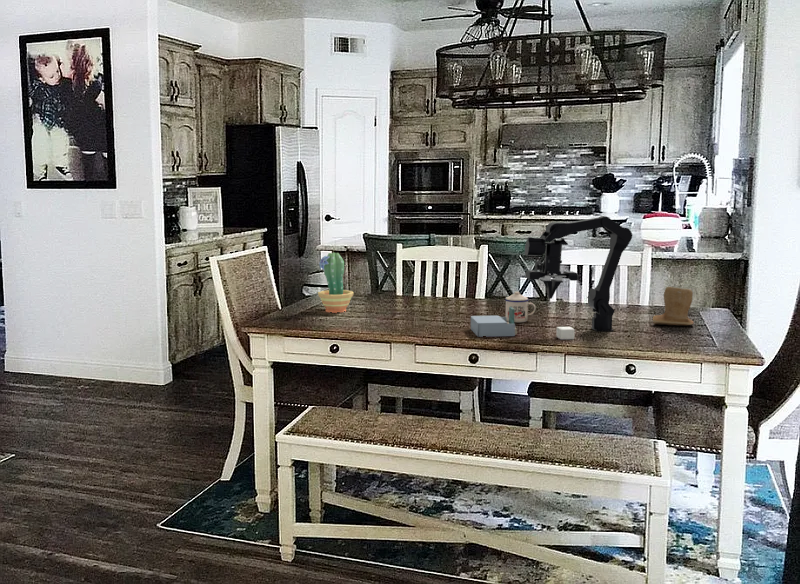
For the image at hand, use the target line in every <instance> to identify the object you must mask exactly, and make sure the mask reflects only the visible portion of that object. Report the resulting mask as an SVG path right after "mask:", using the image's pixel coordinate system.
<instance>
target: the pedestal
mask: <svg viewBox="0 0 800 584" xmlns="http://www.w3.org/2000/svg"><path fill="white" fill-rule="evenodd" d="M555 336H556V338H558V339H559V340H574V339H575V328H573V327H572V326H556V335H555Z"/></svg>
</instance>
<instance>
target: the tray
mask: <svg viewBox="0 0 800 584" xmlns="http://www.w3.org/2000/svg"><path fill="white" fill-rule="evenodd" d="M506 322H507V324H515V322H514V309H513V308H512V307H509V321H506ZM517 331H518V329H517V327H515V335H517V334H518V333H517Z"/></svg>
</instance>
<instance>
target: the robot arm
mask: <svg viewBox="0 0 800 584" xmlns="http://www.w3.org/2000/svg"><path fill="white" fill-rule="evenodd" d="M601 228H602V229H603V230H604V231H605V232H606V233H607V234H609V235H610V239H609V251H608V254H607V257H606V260H605V263H604V265H603V269H602V272H601V274H600V278H599V280H598V282H597V284H596V286H595V287H594V288H593V287H591V288H590V289H589V293H588V296H587V297H586V298H587V299H588V300H587V304H588V305H589V308H591V309H592V312H593V315H592V316H593V317H592V318H591V329H592V330H594V331H595V332H614V329H613V316H614V313H615V309H614V308H613V306H611V305H610V298H611V296H610V295H611V293H610V292H611V291H610V288H611V286H612V284H613V280H614V277H615V275H616V272H617V268H618V266H619V263H620V261H621V260H620V259H621V256H622V254H623V253H624V251H625V250H626V248H627V247H628V246H629V244H630V243H631V241H632V238H633V233H632V231H631V229H630V228H628V227H624V226H622V225H621V224H619V223H617V222H616V221H614V220H612V219H611V218H610V216H609V217H608V216H606V215H601V216H597V217H593V218H588V219H587V218H586V219H581V220H575V221H570V222H569V221H567V222H566V221H565V222H564V221H563V222H562V221H554V222H553V221H552V222H549V223H548V224H547V225H546V227H545V231H544V232H543V233H542V234H541V236H540V237H531V236H528V237H527V238H526V242H525V245H524V254H525V257H526V256H528V257H543V255H544V259H543V262H542V261H541V260H539V261H535V262H534V269H533V270H531V269H527V270H526V271H525V275H524V278H526V279H527V280H530V281H531V280H532V281H533V280H535V281H536V280H539V281H541V282H543V284H544V286H545V290H546V293H547V296H548V299H550V300H552V298H553V297H554V295H555V293H556V291H557V289H558V288H559V286H560V285H561V284H562V283H564V281H563V279H568V280H569V281H571V282H572V281H579V273H577V272H576V271H572V270H571V271H569V270H568V271H566V270H565V271H563V272H562V271H561V264H562V263H563V260H562V250H563V246H568V245H569V244H568V241H566V240H565V238H564V237H567V236H570V235H571V234H574V233H578V232H585V231H589V230H594V229H601Z"/></svg>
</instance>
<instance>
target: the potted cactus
mask: <svg viewBox="0 0 800 584" xmlns="http://www.w3.org/2000/svg"><path fill="white" fill-rule="evenodd" d="M318 265H319V270H323V274H324V276H325V279H326V282H327V287H328V289H327V290H322V291H318V292H317V295H318V298H320V299H321V303H322V304H323V307H324V308H325V312H326V313H330V312H332V314H333V313H335V314H337V312H340V313H345V312H347V308H348V306H349V304H350V302H351V300H352V297H354V292H353V291H352V290H348V289H347V290H346V289H344V283H343V280H344V279H343V277H344V273H345V261H344V259H343V257H342V256H341V255H340V253H339V252H328V254H327V255H325V256H323V257H321V258H320V261H319V264H318ZM344 311H345V312H344Z"/></svg>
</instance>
